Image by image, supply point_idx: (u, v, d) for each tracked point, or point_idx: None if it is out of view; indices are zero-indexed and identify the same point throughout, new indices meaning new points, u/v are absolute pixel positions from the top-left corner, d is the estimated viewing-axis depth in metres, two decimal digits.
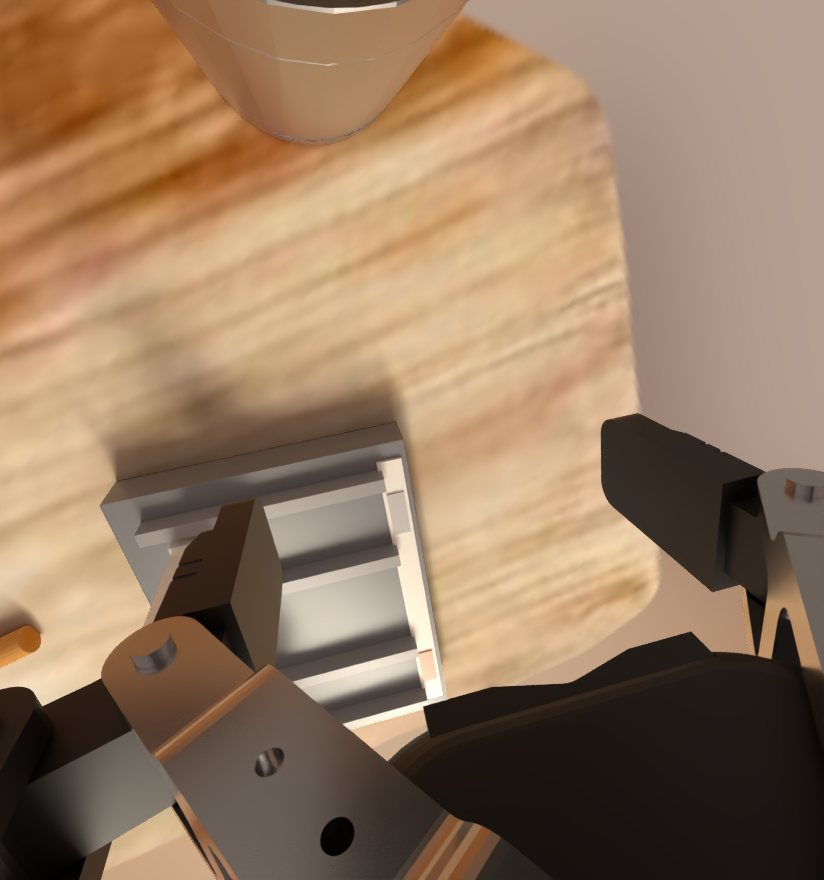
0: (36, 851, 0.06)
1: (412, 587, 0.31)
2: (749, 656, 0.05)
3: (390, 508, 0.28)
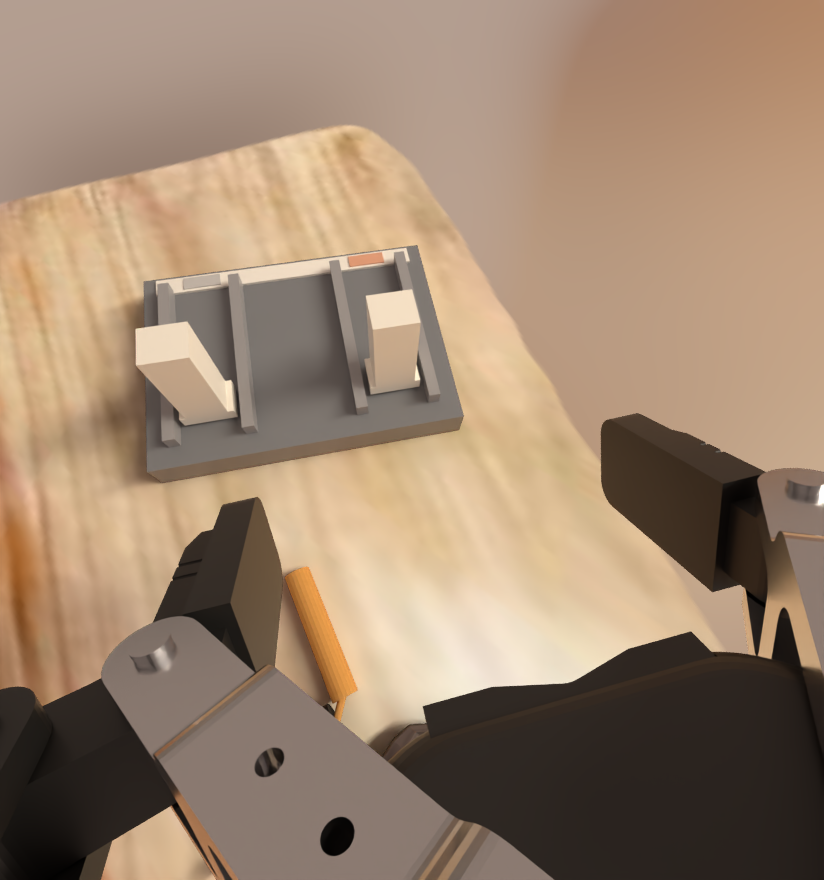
0: (36, 851, 0.06)
1: (276, 272, 0.39)
2: (749, 656, 0.05)
3: (196, 286, 0.38)
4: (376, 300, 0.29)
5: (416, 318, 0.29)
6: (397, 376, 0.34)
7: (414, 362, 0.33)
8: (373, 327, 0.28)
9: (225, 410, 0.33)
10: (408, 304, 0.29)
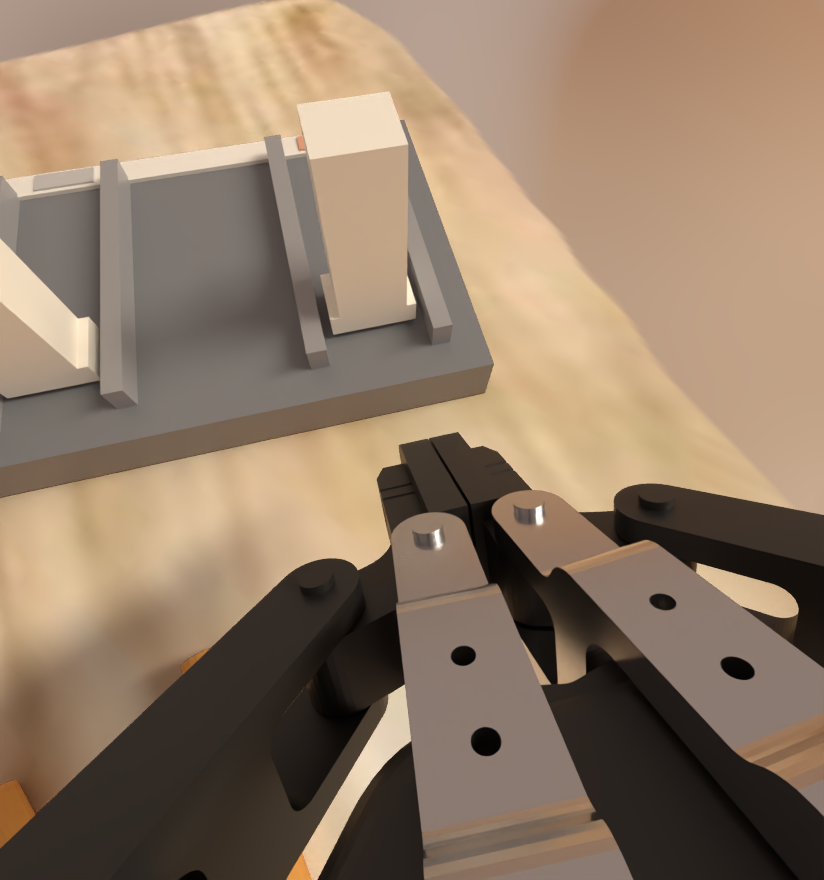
0: (333, 694, 0.07)
1: (184, 162, 0.25)
2: (606, 720, 0.05)
3: (53, 186, 0.24)
4: (318, 111, 0.14)
5: (399, 137, 0.14)
6: (375, 294, 0.19)
7: (404, 259, 0.18)
8: (311, 156, 0.14)
9: (70, 365, 0.19)
10: (383, 116, 0.14)
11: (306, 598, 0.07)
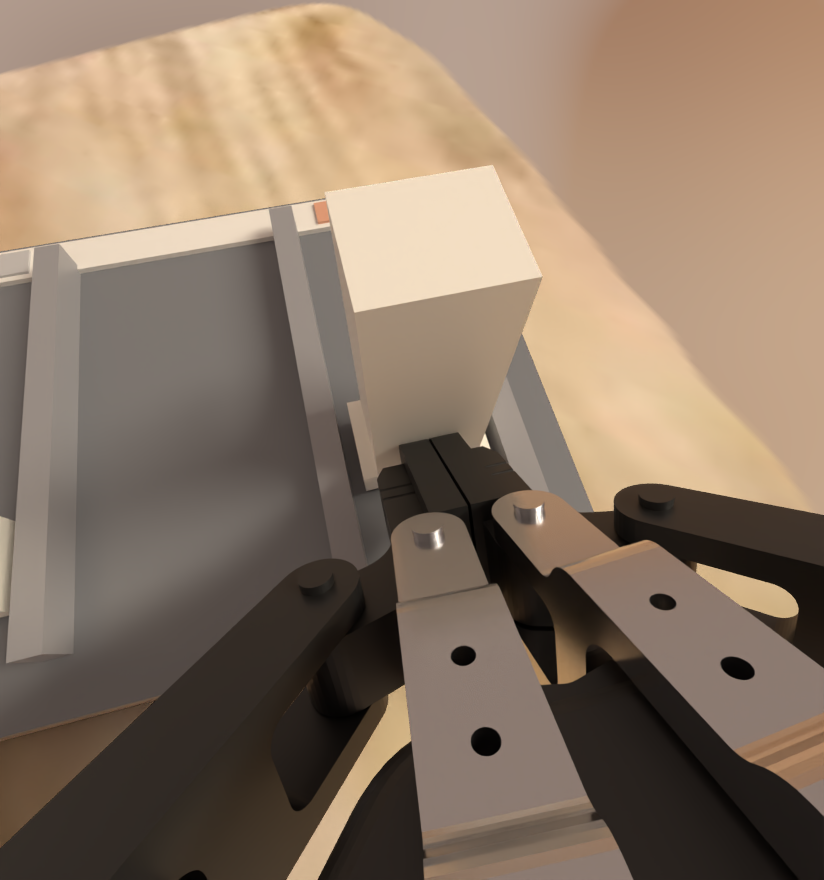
0: (333, 693, 0.07)
1: (157, 241, 0.18)
2: (606, 720, 0.05)
3: None
4: (365, 206, 0.08)
5: (523, 260, 0.07)
6: None
7: (487, 412, 0.11)
8: (356, 303, 0.07)
9: None
10: (487, 215, 0.08)
11: (306, 598, 0.07)
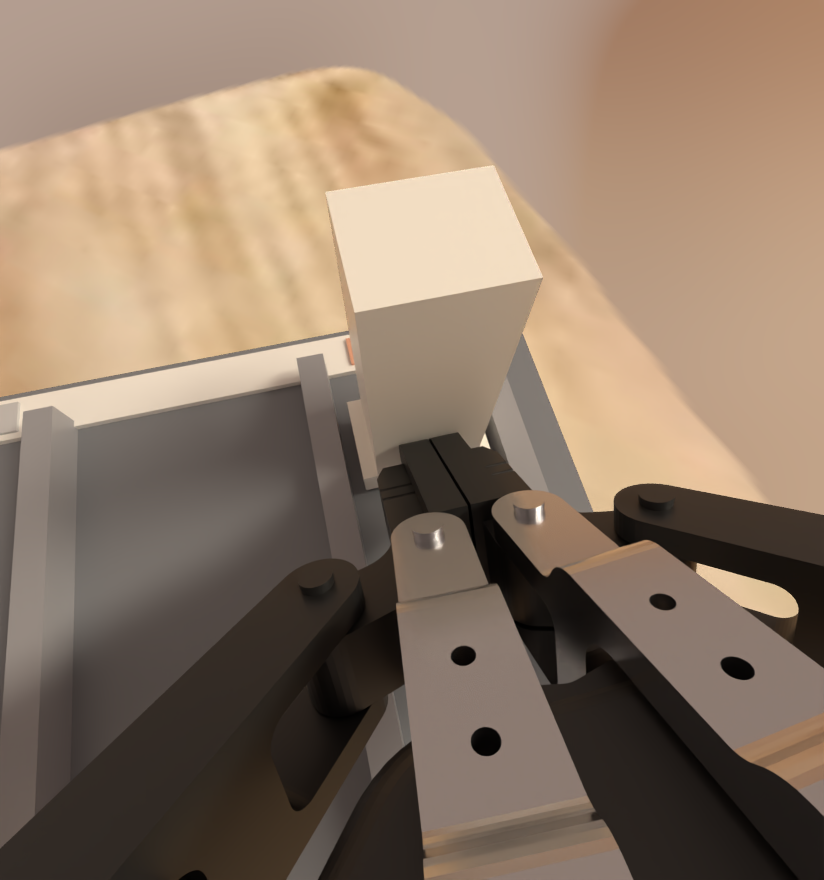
0: (333, 694, 0.07)
1: (166, 389, 0.16)
2: (607, 720, 0.05)
3: None
4: (365, 206, 0.08)
5: (524, 261, 0.07)
6: None
7: (487, 412, 0.11)
8: (356, 303, 0.07)
9: None
10: (488, 216, 0.08)
11: (306, 598, 0.07)
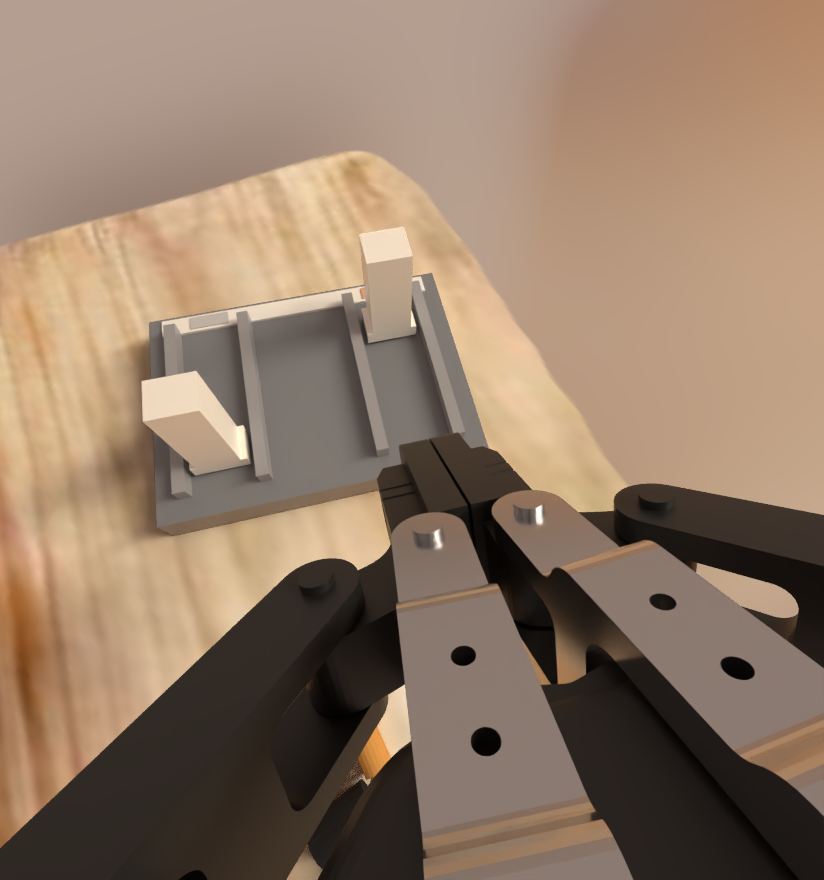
0: (333, 694, 0.07)
1: (286, 307, 0.38)
2: (606, 720, 0.05)
3: (203, 326, 0.37)
4: (369, 237, 0.30)
5: (408, 252, 0.29)
6: (393, 321, 0.35)
7: (409, 304, 0.33)
8: (367, 261, 0.29)
9: (238, 458, 0.31)
10: (400, 240, 0.30)
11: (306, 598, 0.07)
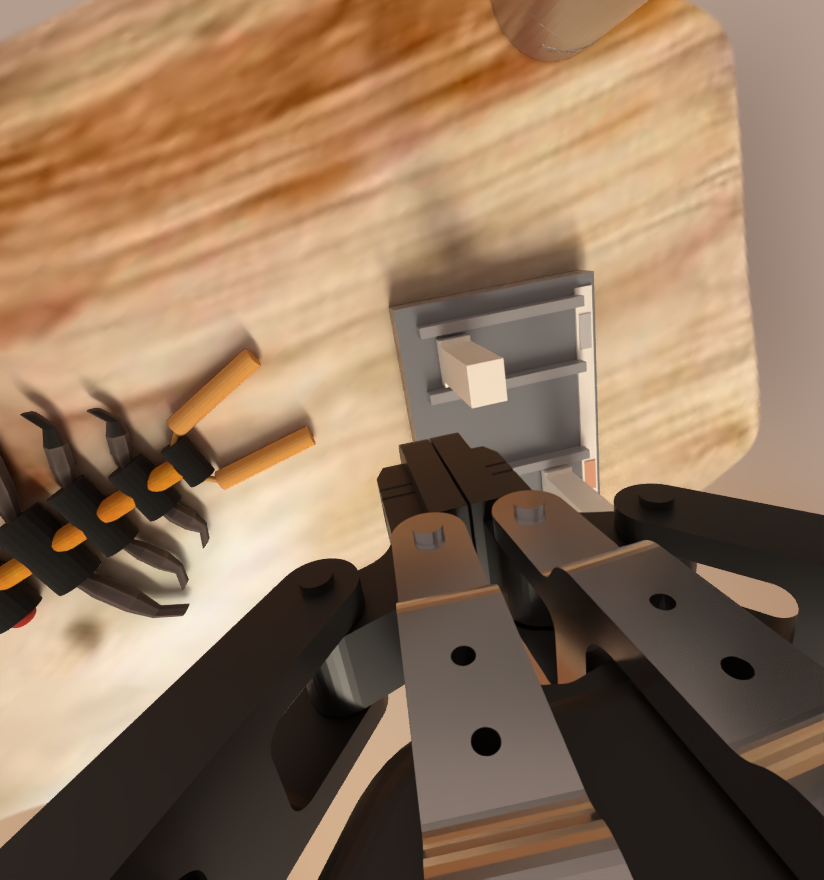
0: (333, 694, 0.07)
1: (587, 399, 0.42)
2: (606, 720, 0.05)
3: (580, 326, 0.39)
4: None
5: None
6: None
7: None
8: None
9: (445, 382, 0.38)
10: None
11: (306, 598, 0.07)
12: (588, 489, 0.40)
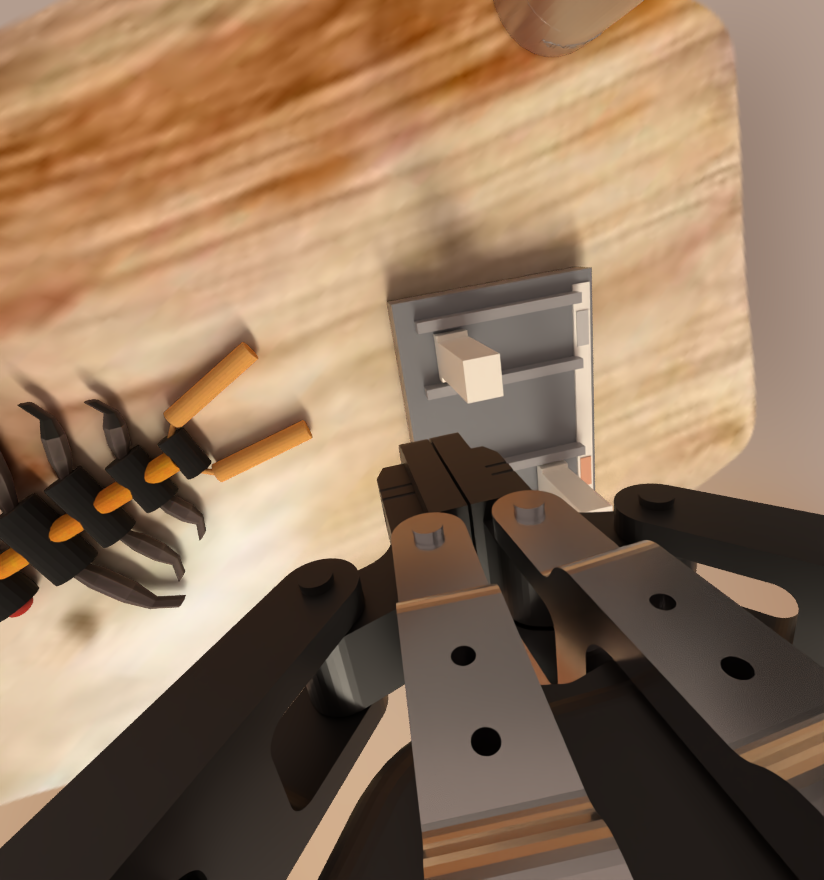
0: (333, 694, 0.07)
1: (583, 395, 0.42)
2: (606, 720, 0.05)
3: (577, 323, 0.40)
4: None
5: None
6: None
7: None
8: None
9: (442, 377, 0.38)
10: None
11: (306, 598, 0.07)
12: (583, 485, 0.40)
